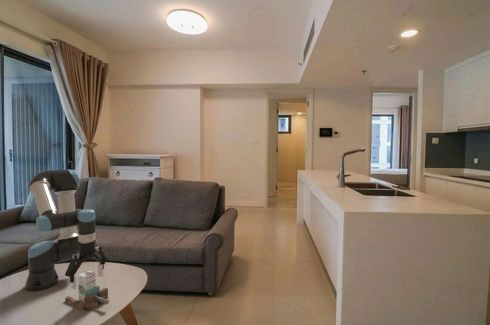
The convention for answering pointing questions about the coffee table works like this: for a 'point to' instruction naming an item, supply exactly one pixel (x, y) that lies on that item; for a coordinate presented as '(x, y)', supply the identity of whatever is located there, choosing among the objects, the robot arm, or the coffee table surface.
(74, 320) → the coffee table surface
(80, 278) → the syrup box
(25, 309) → the coffee table surface
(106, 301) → the pusher
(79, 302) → the lane
